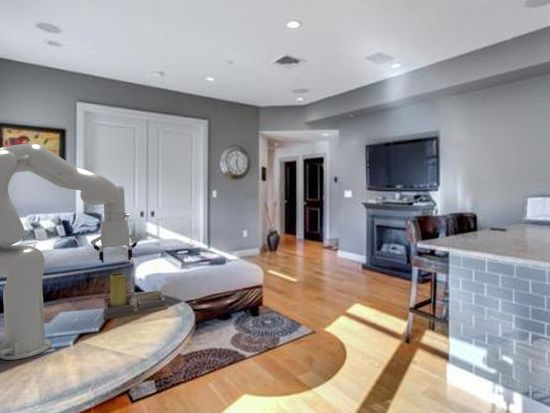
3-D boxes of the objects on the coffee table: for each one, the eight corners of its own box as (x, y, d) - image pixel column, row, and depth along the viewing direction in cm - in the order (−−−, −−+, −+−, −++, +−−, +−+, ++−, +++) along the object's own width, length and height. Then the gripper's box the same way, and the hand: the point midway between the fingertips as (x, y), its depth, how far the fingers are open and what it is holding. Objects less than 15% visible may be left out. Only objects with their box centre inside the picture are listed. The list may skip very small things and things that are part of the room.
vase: (115, 307, 142) (114, 272, 141) (130, 307, 141) (128, 272, 141) (107, 312, 136) (105, 276, 135) (122, 312, 135) (120, 275, 135)
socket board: (167, 309, 141) (166, 295, 141) (103, 319, 131) (103, 305, 131) (162, 301, 152) (162, 289, 152) (103, 311, 141) (102, 297, 141)
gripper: (137, 216, 145) (138, 257, 145) (90, 218, 137) (91, 261, 137) (139, 216, 138) (140, 260, 138) (89, 218, 130) (91, 264, 130)
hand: (116, 260), depth 138 cm, fingers open, 9 cm apart
